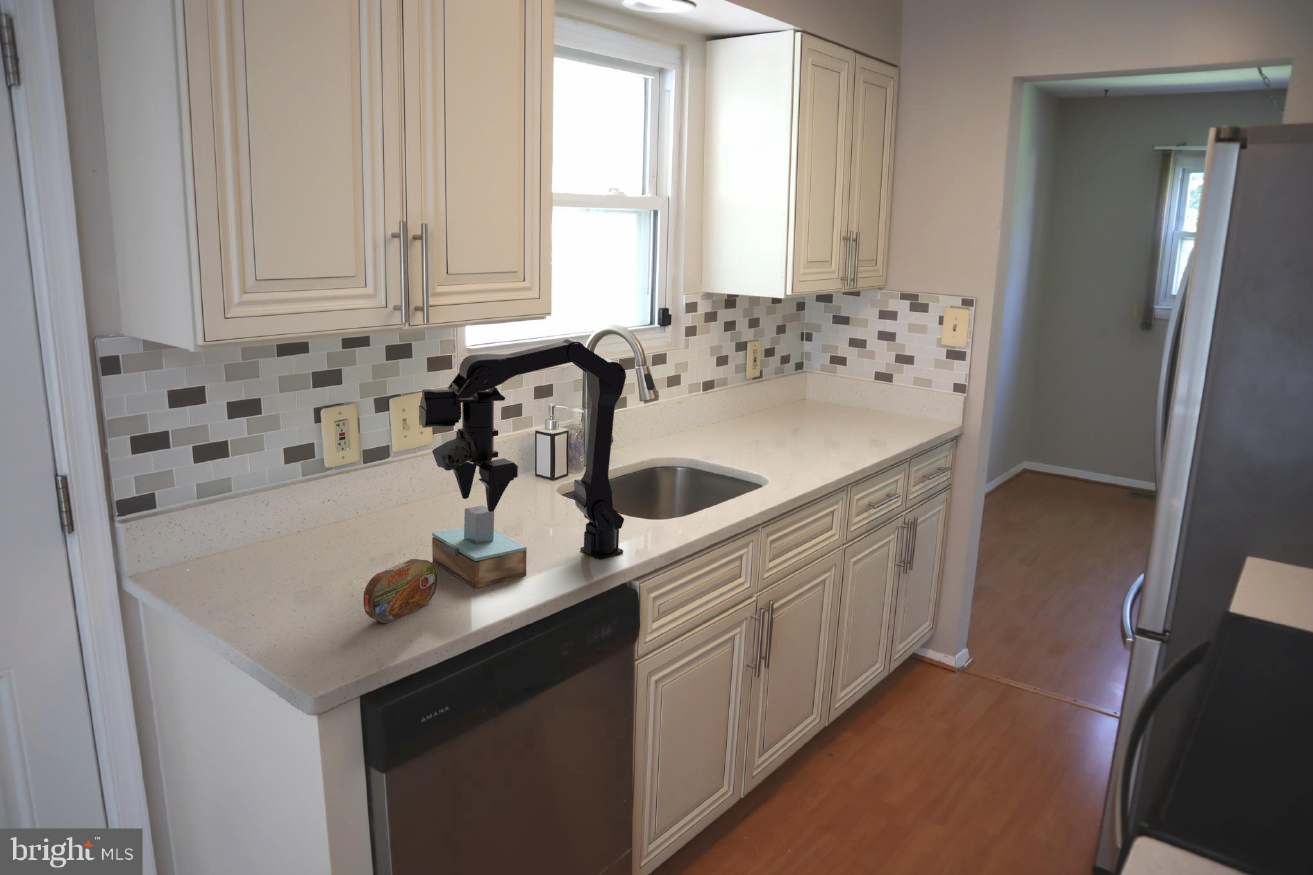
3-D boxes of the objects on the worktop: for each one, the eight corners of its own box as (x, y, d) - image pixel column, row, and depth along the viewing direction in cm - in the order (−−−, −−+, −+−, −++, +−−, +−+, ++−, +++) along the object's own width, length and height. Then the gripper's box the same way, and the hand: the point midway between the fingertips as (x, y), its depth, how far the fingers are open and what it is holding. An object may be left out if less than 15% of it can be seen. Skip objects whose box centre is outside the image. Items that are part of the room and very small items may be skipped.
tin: (374, 630, 150) (372, 582, 148) (360, 625, 151) (358, 577, 149) (439, 599, 162) (438, 554, 160) (426, 595, 164) (425, 550, 162)
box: (481, 549, 186) (481, 526, 185) (526, 574, 174) (526, 550, 173) (432, 561, 179) (432, 537, 177) (475, 588, 167) (475, 562, 166)
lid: (481, 530, 185) (481, 523, 184) (526, 554, 173) (526, 547, 173) (428, 540, 177) (428, 533, 177) (471, 566, 166) (472, 558, 165)
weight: (482, 535, 178) (482, 505, 176) (493, 541, 175) (494, 511, 174) (464, 538, 175) (464, 508, 174) (475, 544, 172) (475, 514, 171)
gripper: (413, 419, 171) (415, 499, 175) (465, 440, 158) (465, 527, 161) (466, 412, 178) (466, 489, 182) (520, 432, 165) (519, 515, 169)
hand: (478, 504), depth 173 cm, fingers open, 9 cm apart
